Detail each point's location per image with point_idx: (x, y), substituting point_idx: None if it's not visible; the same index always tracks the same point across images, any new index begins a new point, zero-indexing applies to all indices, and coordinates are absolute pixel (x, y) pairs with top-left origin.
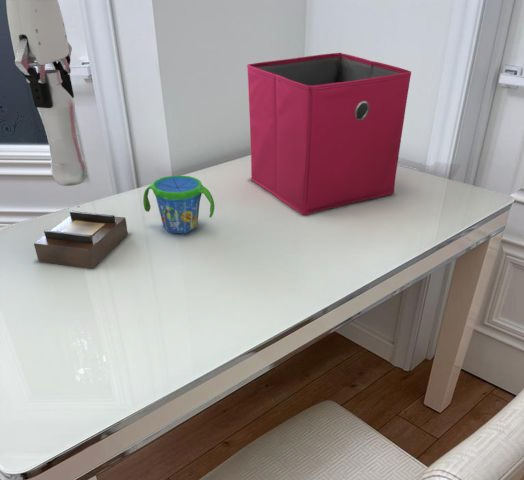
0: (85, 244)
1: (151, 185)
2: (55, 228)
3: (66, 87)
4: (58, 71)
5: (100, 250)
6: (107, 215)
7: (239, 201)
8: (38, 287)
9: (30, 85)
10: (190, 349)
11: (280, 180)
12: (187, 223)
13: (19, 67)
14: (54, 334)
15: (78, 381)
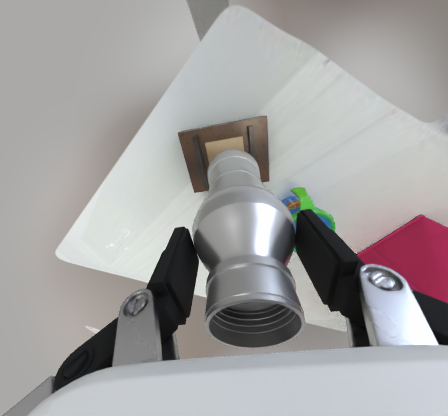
0: (201, 183)
1: (304, 209)
2: (217, 128)
3: (307, 264)
4: (270, 346)
5: None
6: None
7: (358, 225)
8: (151, 165)
9: (155, 275)
10: None
11: (376, 262)
12: None
13: (17, 412)
14: (120, 215)
15: (105, 247)
